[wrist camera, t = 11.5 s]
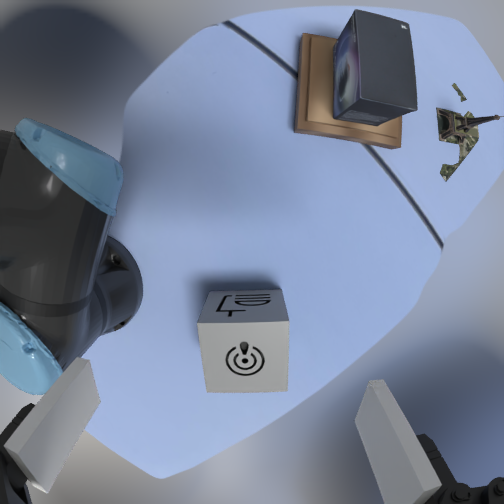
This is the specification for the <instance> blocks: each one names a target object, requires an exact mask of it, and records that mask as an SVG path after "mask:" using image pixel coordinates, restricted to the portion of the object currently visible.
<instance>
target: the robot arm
mask: <svg viewBox="0 0 504 504" xmlns="http://www.w3.org/2000/svg"><path fill="white" fill-rule="evenodd" d="M123 178H124V175H123V169H122V167H121V165H120V163H119V162H118V161H117V160H115V159H114V158H113V157H111V156H110V155H108V154H106V153H105V152H103V151H101V150H99V149H97V148H95V147H93V146H91V145H89V144H87V143H85V142H83V141H81V140H79V139H77V138H75V137H73V136H71V135H68V134H66V133H64V132H62V131H60V130H57V129H55V128H52V127H50V126H48V125H45V124H42V123H39V122H37V121H35V120H32V119H29V118H24V119H22V120H21V121H20V122H19V124H18V125H16V127H15V133H13V132H8V131H4V130H0V374H1V375H2V376H3V377H4V378H5V379H7V380H8V381H9V382H10V383H11V384H13V385H14V386H15V387H17V388H18V389H20V390H22V391H24V392H26V393H29V394H32V395H36V394H37V395H43V394H45V395H44V396H43V397H42V398H41V399H40V401H39V402H38V403H37V404H36V405H34V404H32V403H30V404H29V405H27V406H25V407H23V408H22V409H21V410H20V411H19V413H18V414H17V415H16V417H14V419H13V420H12V422H11V423H9V425H8V426H7V427H6V428H5V429H4V431H3V432H2V434H1V435H0V504H32V502H31V498H30V494H29V491H28V487H27V485H26V481H27V479H28V480H29V481H30V482H31V484H32V485H33V486H34V487H36V488H38V489H40V490H41V491H43V492H45V493H48V492H49V490H50V489H51V487H52V485H53V483H54V481H55V479H56V478H57V476H58V474H59V472H60V470H61V469H62V467H63V465H64V463H65V461H66V460H67V458H68V456H69V454H70V453H71V451H72V449H73V447H74V446H75V444H76V442H77V441H78V439H79V437H80V435H81V434H82V432H83V430H84V429H85V427H86V425H87V424H88V422H89V420H90V419H91V417H92V415H93V414H94V412H95V410H96V409H97V407H98V406H99V404H100V402H101V401H100V397H99V394H98V390H97V387H96V383H95V380H94V376H93V372H92V368H91V364H90V360H87V359H83V358H81V357H82V355H83V354H84V353H85V352H86V351H87V350H88V349H89V347H90V346H91V345H92V344H93V343H94V342H95V341H96V340H97V338H98V337H99V336H101V335H104V334H107V333H110V332H113V331H116V330H118V329H121V328H122V327H124V326H125V325H126V324H127V323H128V322H129V321H130V320H131V319H132V318H133V317H134V316H135V314H136V313H137V311H138V309H139V307H140V305H141V301H142V296H143V284H142V278H141V274H140V271H139V269H138V266H137V264H136V262H135V260H134V259H133V257H132V256H131V254H130V253H129V252H128V251H127V249H126V248H125V247H124V246H123V245H121V244H120V243H119V242H118V241H116V240H114V239H113V238H111V237H109V236H107V235H108V232H109V228H110V225H111V222H112V219H113V216H115V215H116V209H115V208H116V204H117V200H118V197H119V193H120V190H121V187H122V183H123ZM355 424H356V426H357V429H358V431H359V434H360V437H361V439H362V442H363V445H364V448H365V450H366V453H367V456H368V458H369V461H370V464H371V466H372V469H373V472H374V475H375V478H376V480H377V483H378V486H379V489H380V492H381V495H382V497H383V500H384V503H385V504H504V478H502V477H498V478H495V479H493V480H492V481H491V482H490V483H489V484H488V485H487V486H482V487H475V488H470V487H469V486H468V485H466V484H464V483H457V481H456V480H455V478H454V477H453V475H452V473H451V471H450V469H449V468H448V466H447V464H446V462H445V461H444V459H443V457H441V454H440V452H439V451H438V450H437V447H436V445H435V443H434V442H433V440H431V439H430V438H429V437H428V436H427V435H425V434H421V435H417V436H416V435H415V434H414V432H413V430H412V428H411V426H410V425H409V423H408V421H407V419H406V418H405V416H404V414H403V412H402V411H401V409H400V407H399V405H398V404H397V402H396V400H395V399H394V397H393V395H392V394H391V392H390V390H389V388H388V387H387V385H386V383H385V382H384V380H372V381H369V382H368V385H367V388H366V391H365V394H364V397H363V400H362V402H361V405H360V408H359V411H358V414H357V416H356V419H355Z"/></svg>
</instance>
